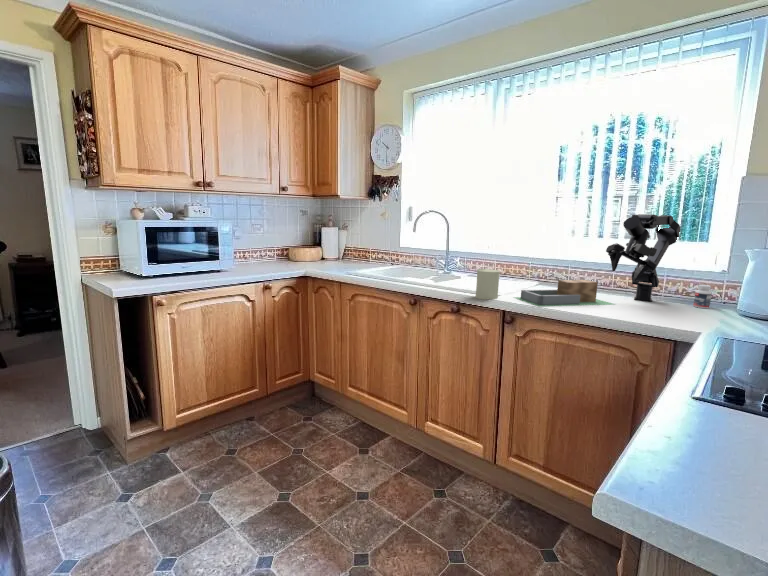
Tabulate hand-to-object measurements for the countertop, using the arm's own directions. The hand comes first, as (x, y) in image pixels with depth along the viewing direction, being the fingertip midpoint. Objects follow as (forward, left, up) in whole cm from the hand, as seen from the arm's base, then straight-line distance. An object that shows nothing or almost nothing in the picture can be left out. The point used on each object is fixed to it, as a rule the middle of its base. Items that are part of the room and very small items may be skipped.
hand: (623, 276), depth 169 cm
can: (+21, -48, -12) cm, 54 cm away
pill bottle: (-16, +28, -12) cm, 34 cm away
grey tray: (+14, -25, -11) cm, 30 cm away
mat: (+9, -20, -11) cm, 25 cm away
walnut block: (+5, -16, -11) cm, 20 cm away
